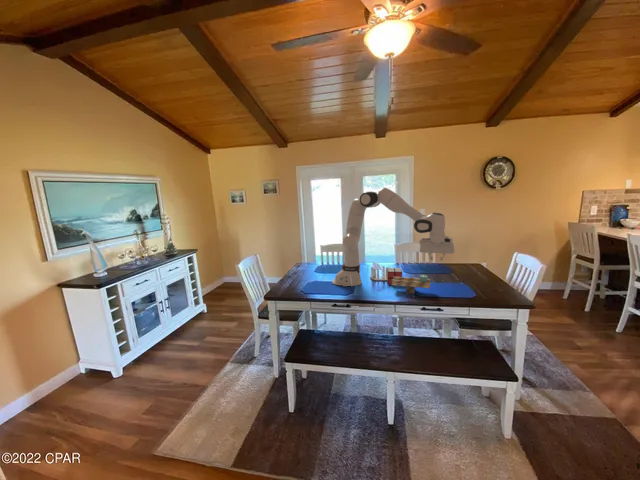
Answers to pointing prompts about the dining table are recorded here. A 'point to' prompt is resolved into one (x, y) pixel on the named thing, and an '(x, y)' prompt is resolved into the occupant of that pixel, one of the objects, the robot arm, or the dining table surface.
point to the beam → (410, 283)
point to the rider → (423, 278)
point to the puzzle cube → (393, 274)
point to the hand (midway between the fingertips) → (436, 259)
